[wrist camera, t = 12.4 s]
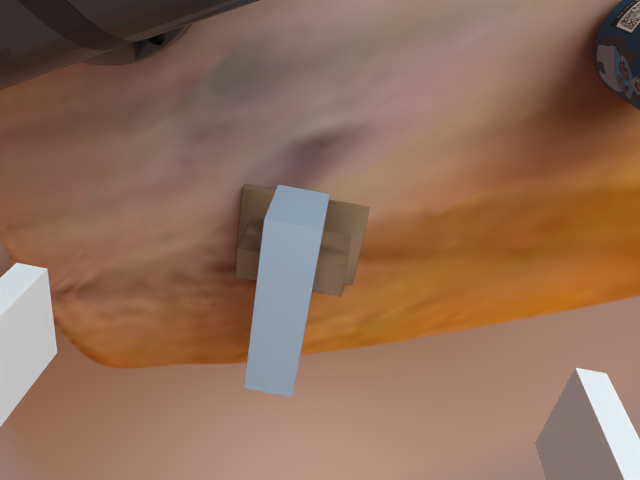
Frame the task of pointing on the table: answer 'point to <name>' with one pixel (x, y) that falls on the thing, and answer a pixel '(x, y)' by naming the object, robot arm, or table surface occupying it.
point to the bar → (284, 287)
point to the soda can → (620, 51)
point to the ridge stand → (335, 248)
